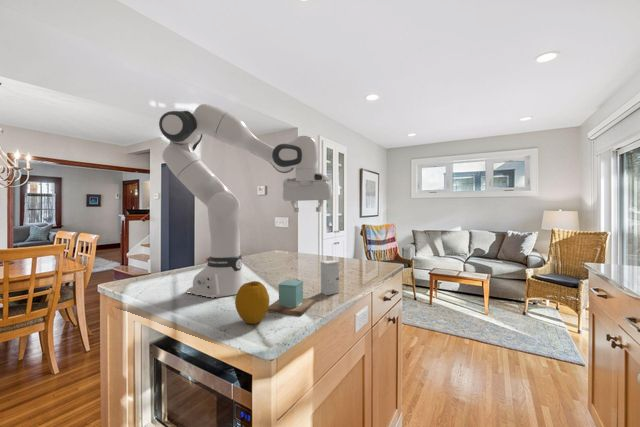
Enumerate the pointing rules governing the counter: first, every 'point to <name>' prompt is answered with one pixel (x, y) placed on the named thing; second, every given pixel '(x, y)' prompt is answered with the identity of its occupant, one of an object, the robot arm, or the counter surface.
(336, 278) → the skincare box
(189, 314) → the counter surface
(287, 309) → the tan plate with disc
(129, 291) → the counter surface
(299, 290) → the teal cube box
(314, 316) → the counter surface
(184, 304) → the counter surface
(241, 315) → the apple
